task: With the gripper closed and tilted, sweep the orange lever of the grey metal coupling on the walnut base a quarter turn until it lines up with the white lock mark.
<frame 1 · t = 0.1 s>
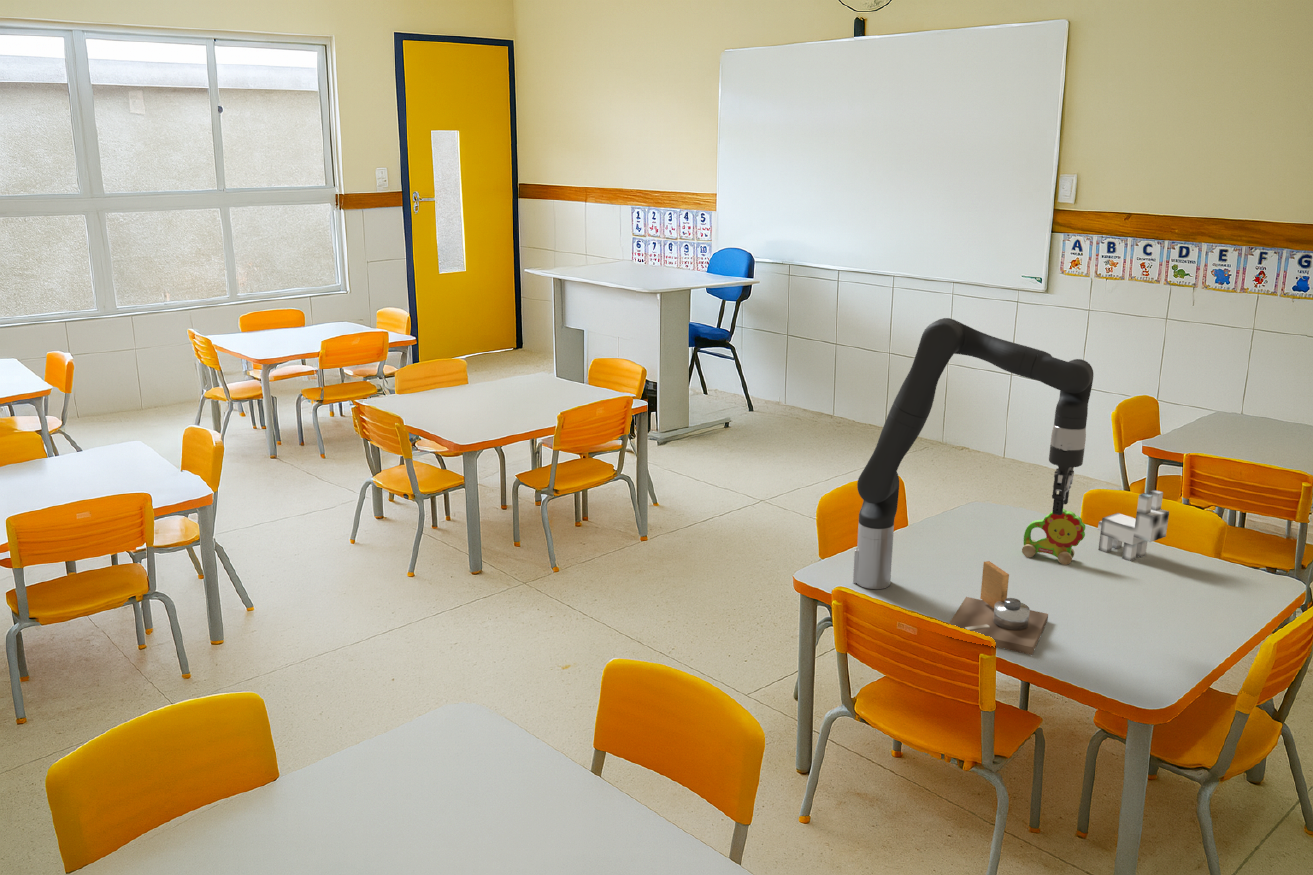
hand: (1060, 508, 238), 29 cm above the table, tool pointing down, fingers open, 8 cm apart
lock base: (1009, 630, 240), on the table
toy lion: (1051, 559, 283), on the table
toy llama: (1125, 554, 286), on the table
lock handle: (1003, 594, 242), point 8 cm above the table, hinge at 0.0°
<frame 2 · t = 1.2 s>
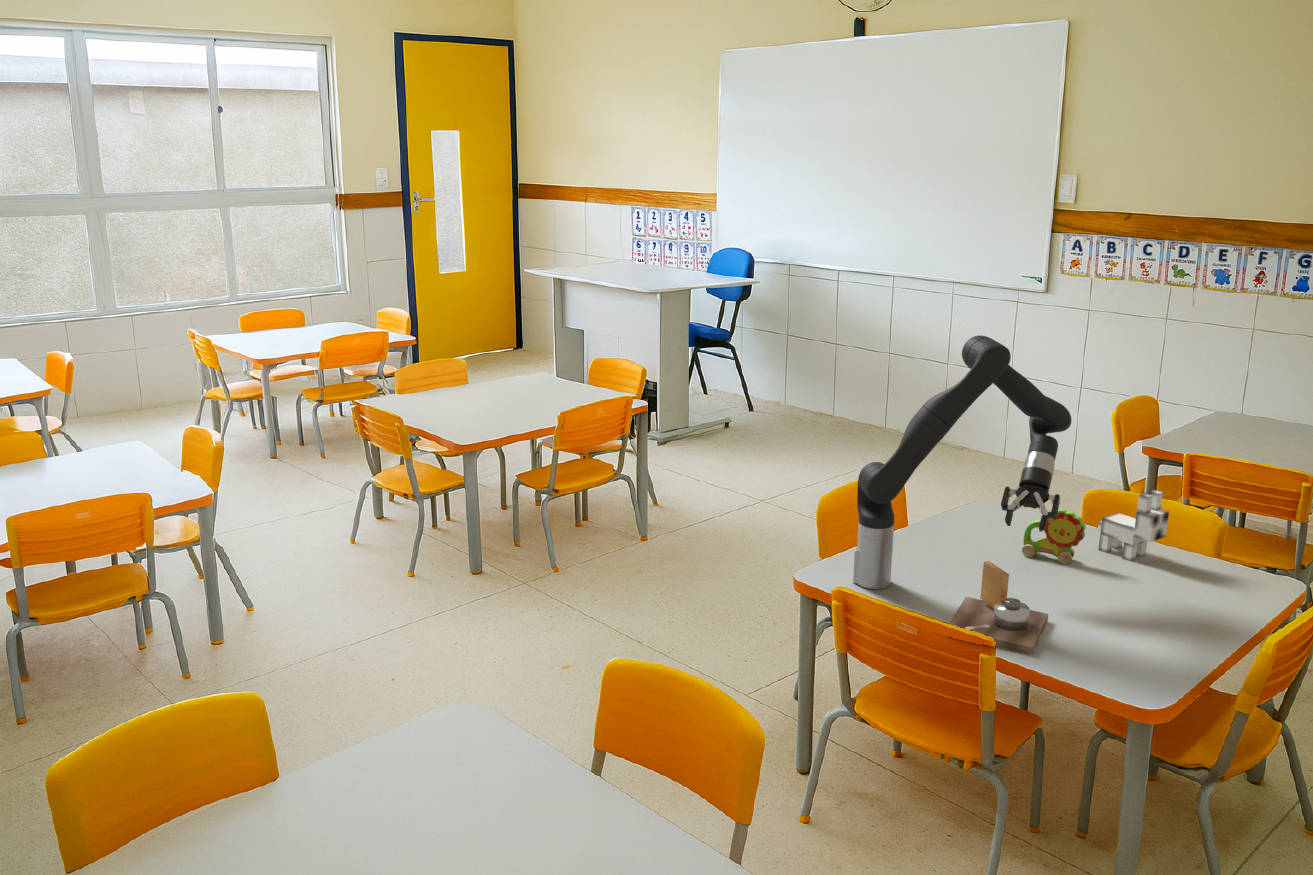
hand: (1024, 527, 255), 19 cm above the table, tool tilted 45°, fingers open, 7 cm apart
nothing on the table moved.
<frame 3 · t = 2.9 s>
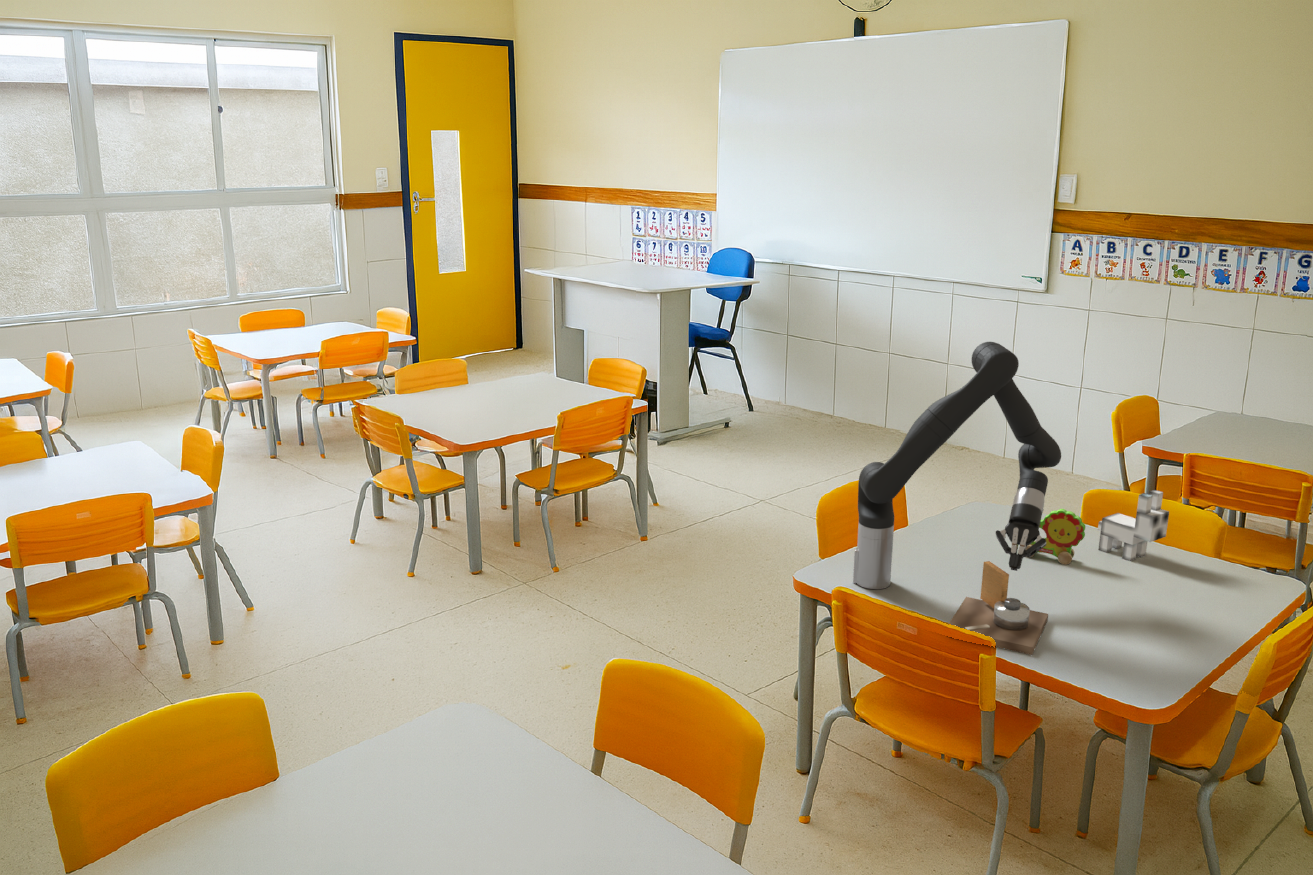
hand: (1013, 569, 250), 10 cm above the table, tool tilted 45°, fingers closed
nothing on the table moved.
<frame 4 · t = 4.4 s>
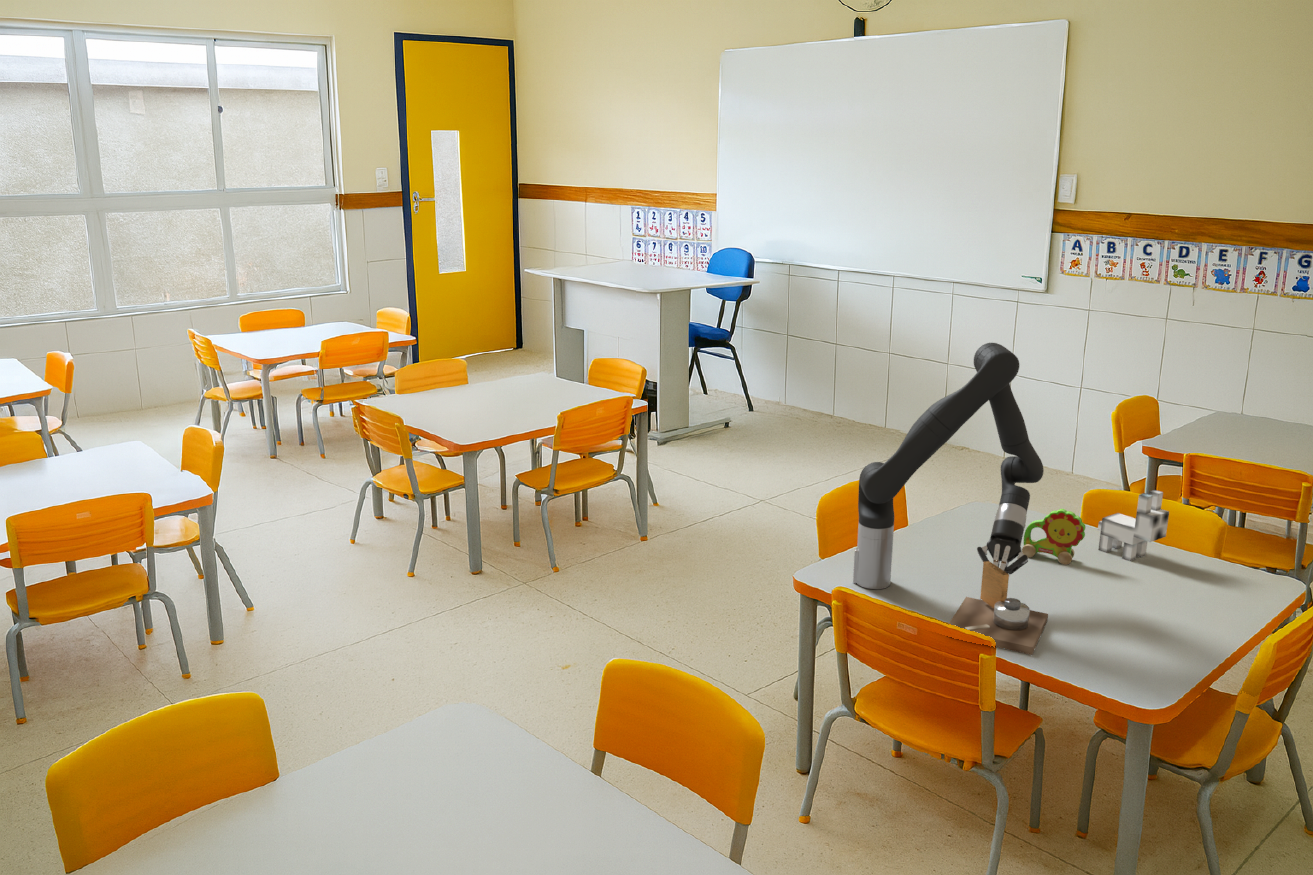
hand: (995, 586, 248), 7 cm above the table, tool tilted 45°, fingers closed
lock handle: (1002, 594, 242), point 8 cm above the table, hinge at 0.2°, touching gripper
everything else where it was.
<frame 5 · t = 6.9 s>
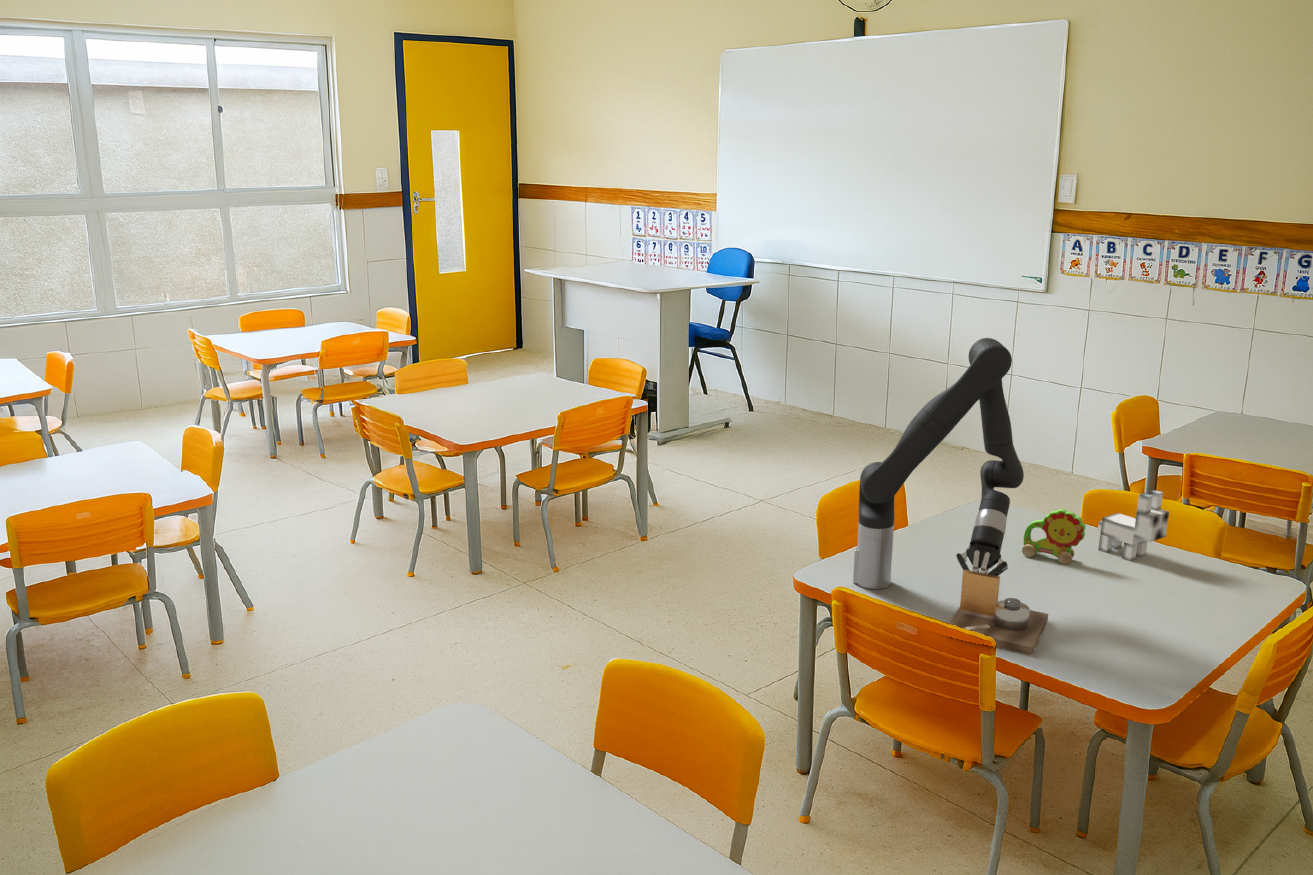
hand: (974, 593, 244), 7 cm above the table, tool tilted 45°, fingers closed
lock handle: (995, 598, 240), point 8 cm above the table, hinge at 46.0°, touching gripper
everything else where it was.
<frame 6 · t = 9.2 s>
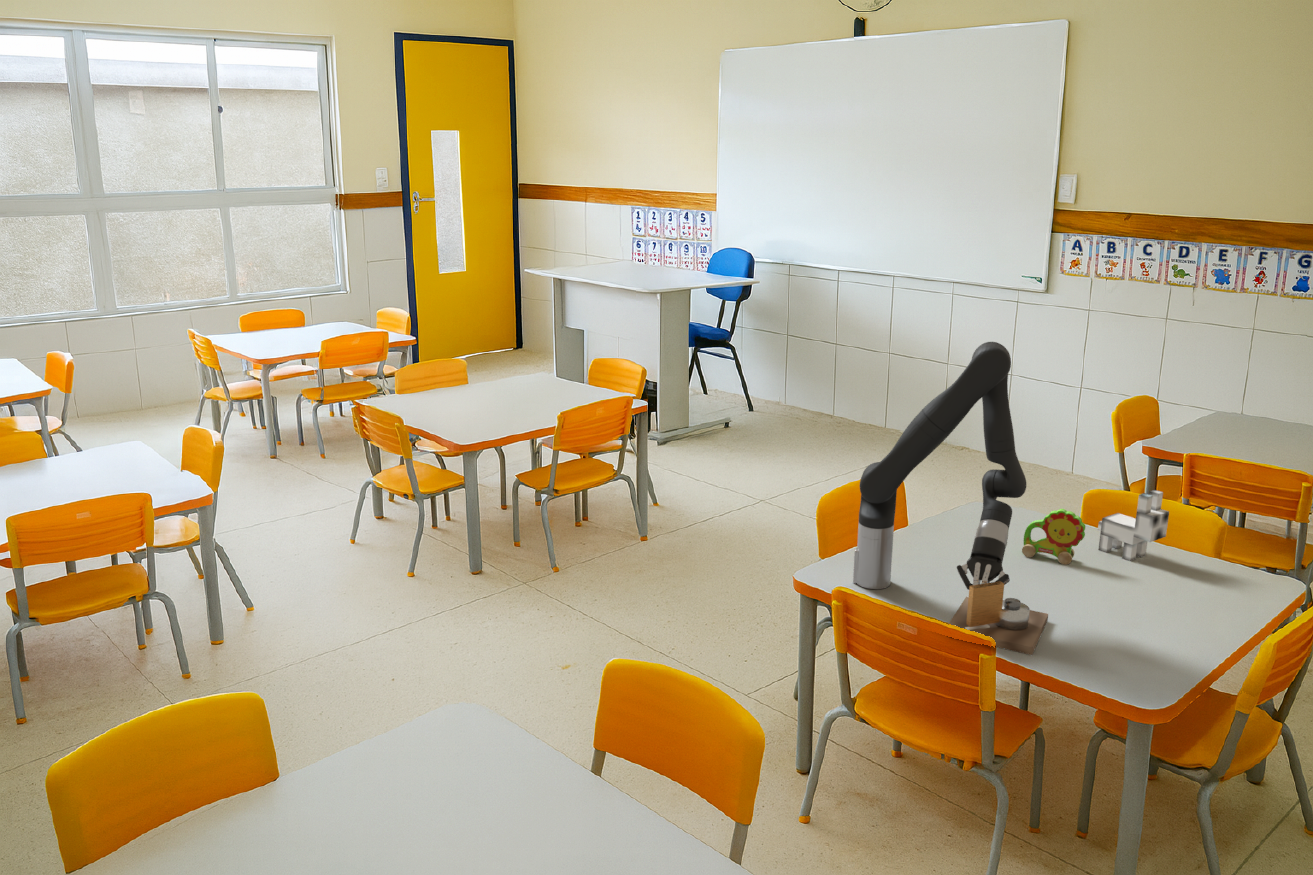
hand: (975, 606, 237), 7 cm above the table, tool tilted 45°, fingers closed
lock handle: (998, 603, 237), point 8 cm above the table, hinge at 93.0°, touching gripper
everything else where it was.
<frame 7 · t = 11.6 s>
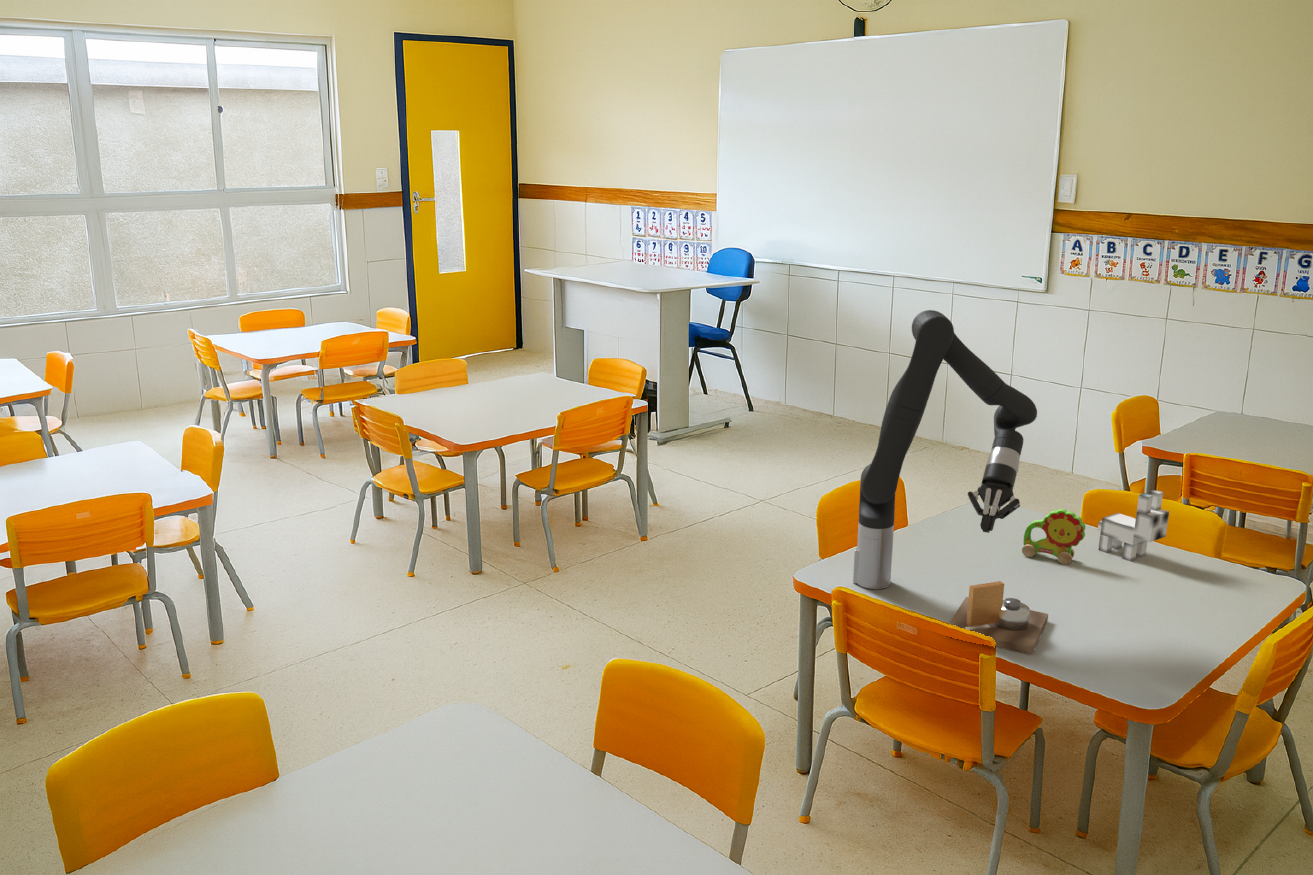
hand: (985, 530, 240), 24 cm above the table, tool tilted 45°, fingers closed
lock handle: (998, 603, 237), point 8 cm above the table, hinge at 93.0°
everything else where it was.
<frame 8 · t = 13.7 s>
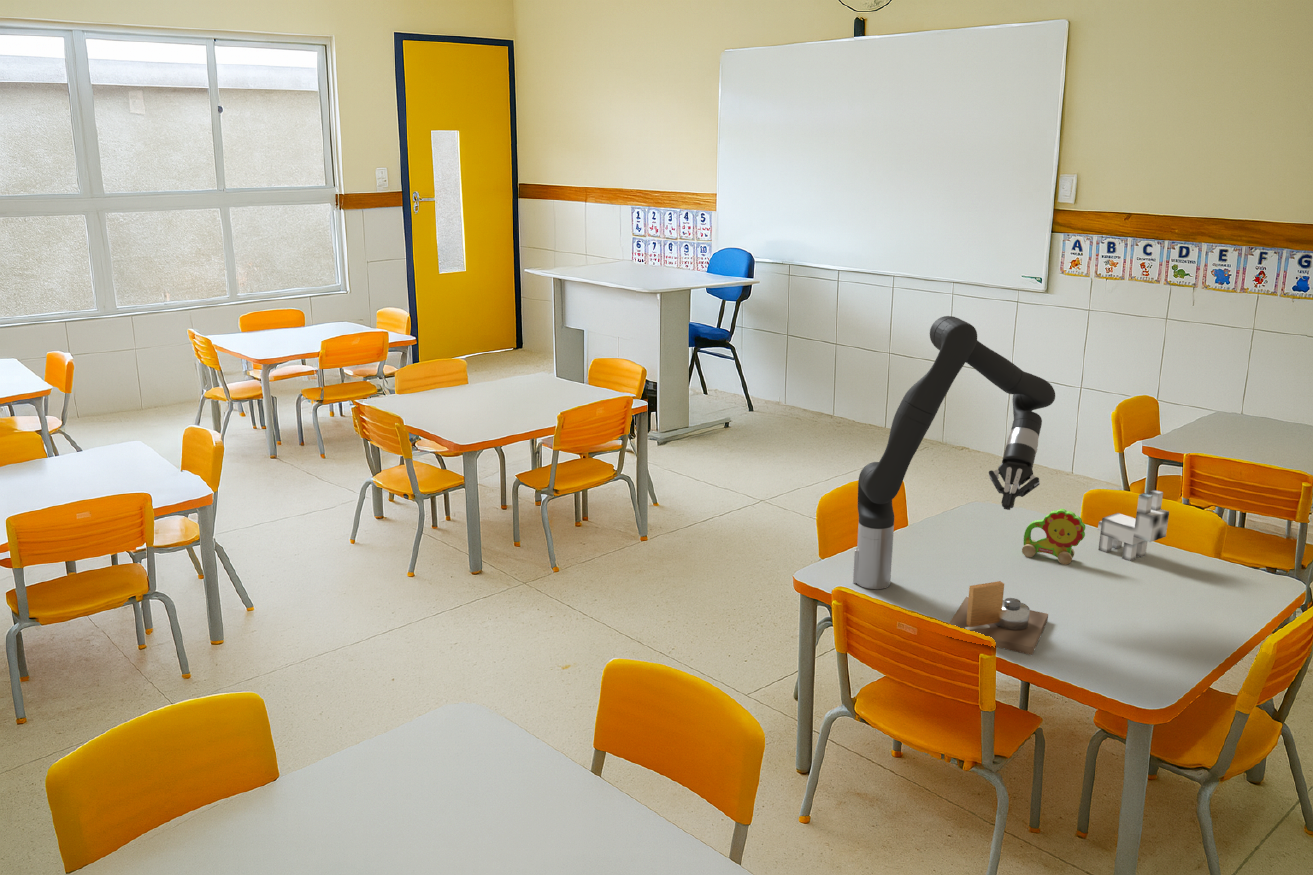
hand: (1006, 508, 248), 26 cm above the table, tool tilted 45°, fingers closed
nothing on the table moved.
at the end: lock handle at +93° (first picture: +0°) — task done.
